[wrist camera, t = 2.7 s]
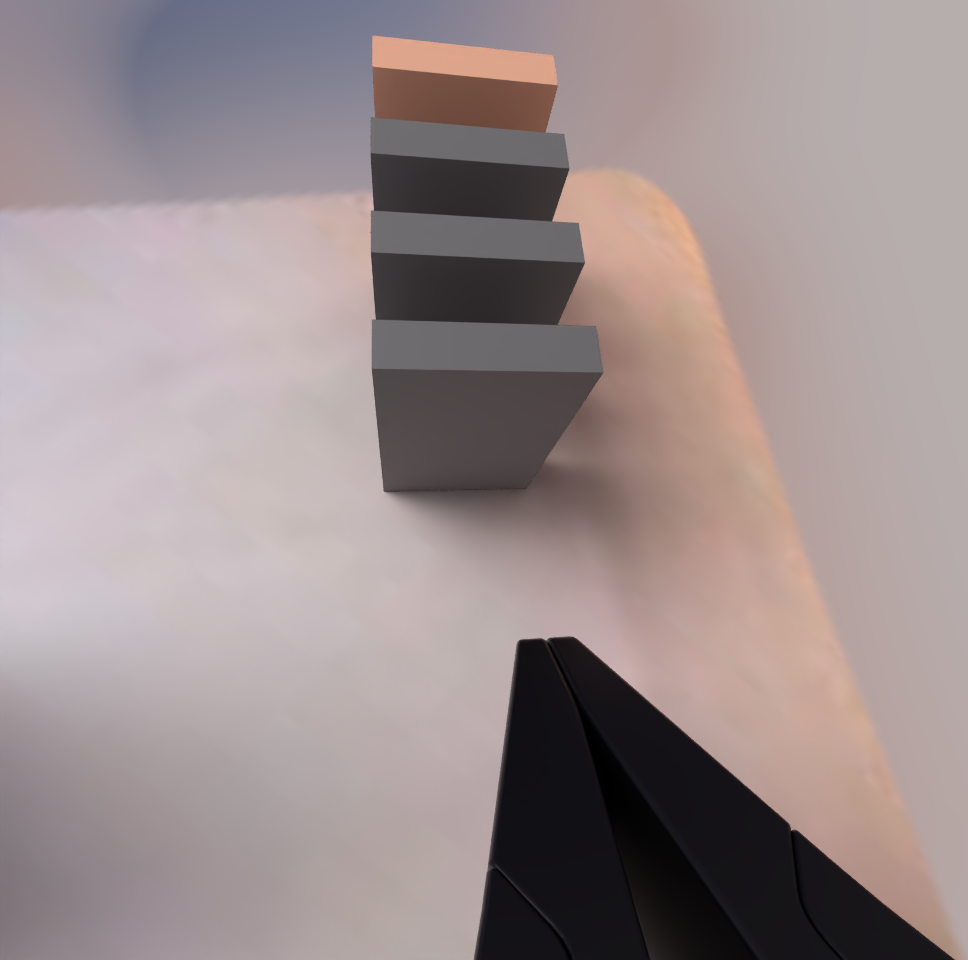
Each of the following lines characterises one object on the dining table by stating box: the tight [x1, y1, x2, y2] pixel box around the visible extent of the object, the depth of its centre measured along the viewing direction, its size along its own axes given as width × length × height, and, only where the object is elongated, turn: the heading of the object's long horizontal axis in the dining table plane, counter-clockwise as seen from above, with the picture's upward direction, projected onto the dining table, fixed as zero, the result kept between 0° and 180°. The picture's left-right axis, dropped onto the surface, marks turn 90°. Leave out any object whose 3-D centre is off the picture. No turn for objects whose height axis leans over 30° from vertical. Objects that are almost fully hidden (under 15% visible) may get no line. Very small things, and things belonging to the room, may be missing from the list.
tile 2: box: [371, 211, 585, 325], centre depth 16 cm, size 1×5×8 cm, turn 94°
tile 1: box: [372, 320, 603, 491], centre depth 16 cm, size 1×5×8 cm, turn 94°
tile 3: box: [371, 117, 569, 221], centre depth 17 cm, size 1×5×8 cm, turn 94°
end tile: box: [373, 36, 558, 132], centre depth 18 cm, size 1×5×8 cm, turn 94°
